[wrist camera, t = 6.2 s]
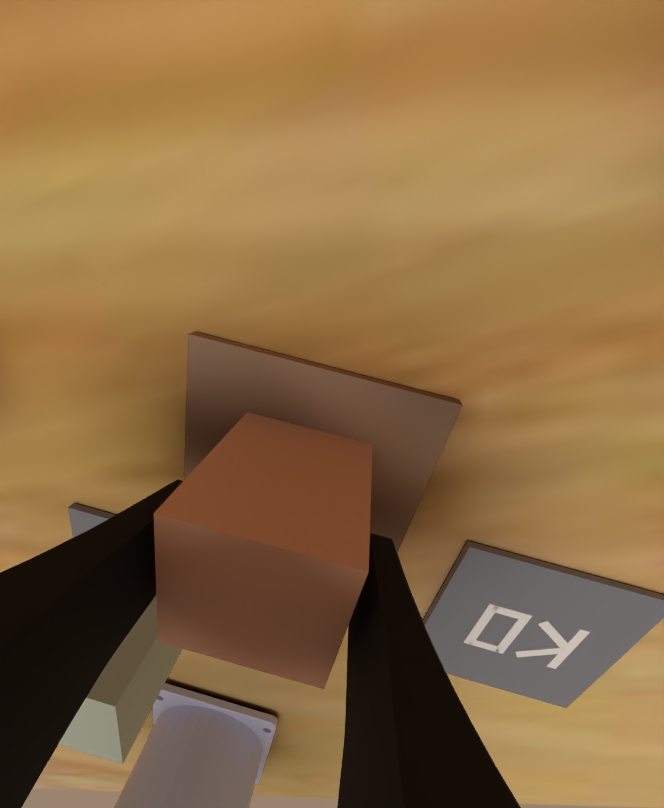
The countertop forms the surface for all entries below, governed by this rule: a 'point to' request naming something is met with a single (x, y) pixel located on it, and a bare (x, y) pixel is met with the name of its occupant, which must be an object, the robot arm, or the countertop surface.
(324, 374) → the walnut coaster
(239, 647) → the rust block
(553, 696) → the tile
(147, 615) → the sage block
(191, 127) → the countertop surface
